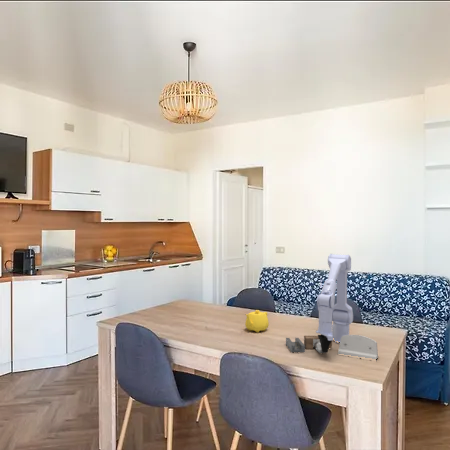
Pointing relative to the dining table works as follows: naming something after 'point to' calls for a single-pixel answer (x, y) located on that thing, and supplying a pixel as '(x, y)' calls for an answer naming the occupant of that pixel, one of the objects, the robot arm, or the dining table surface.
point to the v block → (295, 345)
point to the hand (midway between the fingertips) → (324, 352)
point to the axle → (317, 345)
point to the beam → (311, 342)
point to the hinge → (358, 346)
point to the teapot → (257, 321)
